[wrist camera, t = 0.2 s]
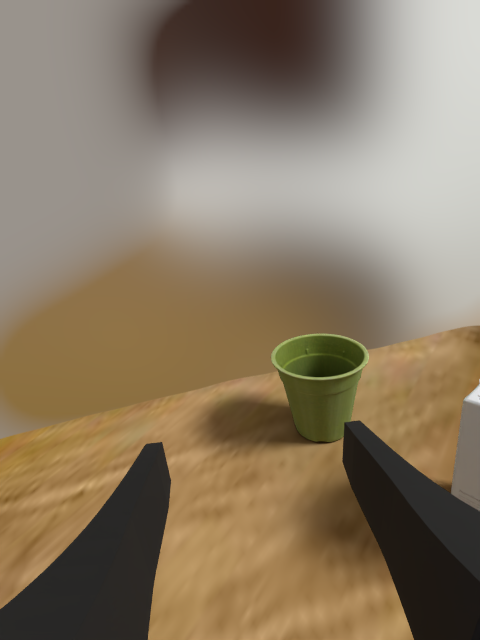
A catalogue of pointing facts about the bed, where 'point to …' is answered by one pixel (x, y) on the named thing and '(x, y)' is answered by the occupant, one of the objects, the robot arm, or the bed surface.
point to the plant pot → (320, 382)
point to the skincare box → (468, 453)
